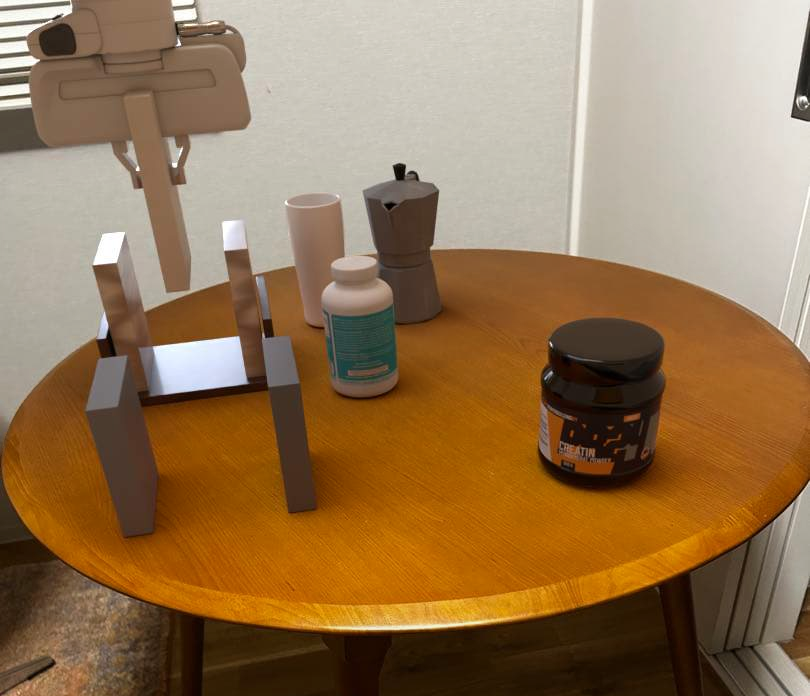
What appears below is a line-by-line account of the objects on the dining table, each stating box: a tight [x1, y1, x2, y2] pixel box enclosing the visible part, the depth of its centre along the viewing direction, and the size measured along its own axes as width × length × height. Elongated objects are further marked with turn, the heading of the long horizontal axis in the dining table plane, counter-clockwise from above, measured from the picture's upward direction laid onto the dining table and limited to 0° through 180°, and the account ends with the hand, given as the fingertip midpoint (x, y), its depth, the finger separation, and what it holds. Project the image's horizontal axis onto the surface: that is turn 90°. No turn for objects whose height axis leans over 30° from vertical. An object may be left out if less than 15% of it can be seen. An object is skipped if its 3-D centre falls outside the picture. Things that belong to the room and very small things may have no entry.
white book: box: [123, 89, 192, 294], centre depth 86 cm, size 2×11×18 cm, turn 11°
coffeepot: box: [362, 162, 443, 325], centre depth 105 cm, size 15×9×18 cm, turn 168°
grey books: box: [84, 334, 318, 538], centre depth 73 cm, size 16×10×12 cm, turn 101°
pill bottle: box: [321, 255, 399, 398], centre depth 89 cm, size 8×7×14 cm
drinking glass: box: [284, 191, 346, 328], centre depth 104 cm, size 7×7×15 cm
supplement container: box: [537, 317, 667, 488], centre depth 74 cm, size 10×10×12 cm
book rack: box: [91, 219, 275, 407], centre depth 93 cm, size 18×14×15 cm
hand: (160, 185), depth 86 cm, fingers closed on white book, 2 cm apart
